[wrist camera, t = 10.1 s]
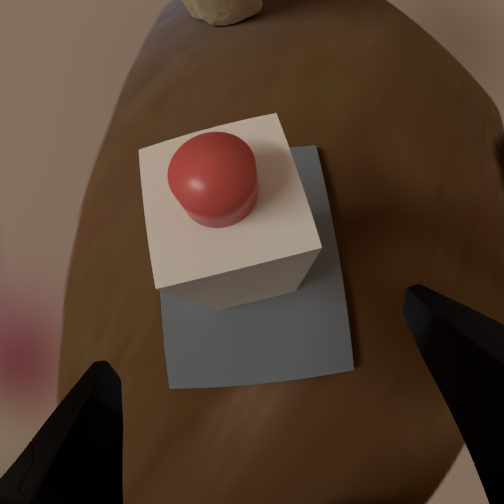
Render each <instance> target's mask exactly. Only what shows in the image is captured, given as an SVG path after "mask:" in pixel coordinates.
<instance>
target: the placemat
mask: <svg viewBox="0 0 504 504" xmlns="http://www.w3.org/2000/svg"><path fill="white" fill-rule="evenodd" d="M289 149H290V152H291V154H292V157H293V160H294V163H295V166H296V169H297V171H298V174H299V177H300V180H301V183H302V186H303V189H304V192H305V195H306V198H307V201H308V204H309V207H310V210H311V213H312V217H313V220H314V223H315V226H316V229H317V232H318V236H319V239H320V242H321V246H322V249H321V250H320V252H319V254H318V255H317V257H316V259H315V260H314V262H313V264H312V265H311V267H310V269H309V270H308V272H307V273H306V275H305V277H304V278H303V280H302V281H301V283H300V285H299V286H298V288H297V289H296V291H294V292H290V293H286V294H282V295H278V296H274V297H271V298H267V299H263V300H259V301H254V302H250V303H246V304H242V305H238V306H234V307H230V308H225V309H221V310H217V309H214V308H211V307H208V306H205V305H201V304H198V303H195V302H192V301H189V300H186V299H183V298H180V297H177V296H174V295H171V294H168V293H166V292H163V291H160V298H161V312H162V325H163V336H164V346H165V356H166V365H167V373H168V381H169V389H180V388H209V387H227V386H241V385H252V384H263V383H272V382H281V381H289V380H296V379H304V378H310V377H317V376H323V375H329V374H335V373H341V372H346V371H351V370H354V364H353V354H352V345H351V336H350V328H349V320H348V312H347V305H346V297H345V290H344V284H343V277H342V271H341V265H340V259H339V253H338V247H337V242H336V236H335V231H334V226H333V220H332V215H331V210H330V205H329V201H328V196H327V191H326V186H325V182H324V177H323V173H322V169H321V164H320V160H319V156H318V152H317V148H316V145H314V146H302V147H291V148H289Z"/></svg>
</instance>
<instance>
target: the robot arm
mask: <svg viewBox="0 0 504 504" xmlns="http://www.w3.org/2000/svg"><path fill="white" fill-rule="evenodd" d="M403 312H404V316H405V318H406V321H407V323H408V325H409V327H410V330H411V332H412V334H413V337H414V339H415V341H416V344H417V346H418V348H419V351H420V353H421V355H422V357H423V359H424V361H425V363H426V365H427V367H428V369H429V370H430V372H431V374H432V376H433V378H434V380H435V382H436V384H437V386H438V387H439V389H440V391H441V393H442V395H443V397H444V399H445V401H446V403H447V405H448V407H449V409H450V411H451V413H452V415H453V417H454V420H455V422H456V424H457V426H458V428H459V430H460V432H461V435H462V437H463V439H464V441H465V443H466V446H467V448H468V450H469V453H470V455H471V457H472V460H473V462H474V463H475V464H474V465H475V467H476V470H477V472H478V474H479V477H480V480H481V482H482V485H483V487H484V490H485V492H486V495H487V498H488V501H489V504H504V325H503V324H501V323H499V322H497V321H495V320H493V319H491V318H489V317H487V316H485V315H483V314H481V313H479V312H477V311H475V310H473V309H471V308H469V307H467V306H465V305H462V304H460V303H458V302H456V301H454V300H452V299H450V298H448V297H446V296H444V295H441V294H439V293H437V292H435V291H433V290H431V289H429V288H427V287H424V286H422V285H420V284H416V285H413V286H410V287H408V288H407V289H406V291H405V298H404V305H403ZM122 451H123V412H122V388H121V380H120V377H119V376H118V374H117V373H116V372H115V370H114V369H113V368H112V367H111V365H110V364H109V363H108V362H107V361H104V360H103V361H96V362H94V363H93V364H92V365H91V366H90V367H89V369H88V370H87V371H86V372H85V373H84V375H83V376H82V377H81V378H80V379H79V381H78V382H77V383H76V384H75V386H74V387H73V388H72V389H71V390H70V392H69V393H68V394H67V395H66V397H65V398H64V399H63V400H62V402H61V403H60V404H59V405H58V407H57V408H56V409H55V411H54V412H53V413H52V414H51V416H50V417H49V418H48V419H47V421H46V422H45V423H44V425H43V426H42V427H41V428H40V430H39V431H38V432H37V434H36V435H35V436H34V438H33V439H32V441H30V443H29V444H28V446H27V447H26V448H25V450H24V451H23V452H22V453H21V455H20V456H19V457H18V459H17V460H16V461H15V462H14V463H13V465H12V466H11V467H10V468H9V469H8V470H7V472H6V473H5V474H4V475H3V476H2V477H1V478H0V504H123V484H122Z"/></svg>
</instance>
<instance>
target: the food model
mask: <svg viewBox="0 0 504 504" xmlns="http://www.w3.org/2000/svg"><path fill="white" fill-rule="evenodd" d="M182 2H183V3H184V5H185V7H186V8H187V10H188V11H189V13H190V14H191V15H192V16H193V17H194V18H196V19H201V20H204V21H206V22H207V23H209V24H210V25H219V26H226V25H230V24H234V23H237V22H239V21H241V20H244V19H246V18H248V17H250V16H253V15H255V14H256V13H258V12H259V11H260V10H261V8H262V4H263V3H262V0H182Z"/></svg>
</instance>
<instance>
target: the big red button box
mask: <svg viewBox="0 0 504 504" xmlns="http://www.w3.org/2000/svg"><path fill="white" fill-rule="evenodd" d="M139 161H140V173H141V184H142V194H143V204H144V213H145V221H146V229H147V236H148V244H149V250H150V257H151V264H152V270H153V276H154V282H155V288H156V289H157V290H160V291H163V292H166V293H168V294H171V295H174V296H177V297H180V298H183V299H186V300H189V301H192V302H195V303H198V304H201V305H205V306H208V307H211V308H214V309H217V310H221V309H225V308H230V307H234V306H238V305H242V304H246V303H250V302H254V301H259V300H263V299H267V298H271V297H274V296H278V295H282V294H286V293H290V292H294V291H296V289H297V288H298V286H299V285H300V283H301V281H302V280H303V278H304V277H305V275H306V273H307V272H308V270H309V269H310V267H311V265H312V264H313V262H314V260H315V259H316V257H317V255H318V254H319V252H320V250H321V249H322V246H321V242H320V239H319V236H318V232H317V229H316V226H315V223H314V220H313V217H312V213H311V210H310V207H309V204H308V201H307V198H306V195H305V192H304V189H303V186H302V183H301V180H300V177H299V174H298V171H297V169H296V166H295V163H294V160H293V157H292V154H291V152H290V149H289V146H288V143H287V141H286V138H285V135H284V132H283V130H282V127H281V124H280V122H279V119H278V117H277V114H276V113H274V114H269V115H264V116H259V117H255V118H250V119H246V120H241V121H237V122H233V123H229V124H225V125H221V126H217V127H213V128H209V129H206V130H202V131H198V132H195V133H191V134H188V135H184V136H181V137H177V138H174V139H171V140H168V141H164V142H161V143H158V144H155V145H152V146H149V147H146V148H143V149H140V150H139Z"/></svg>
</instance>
